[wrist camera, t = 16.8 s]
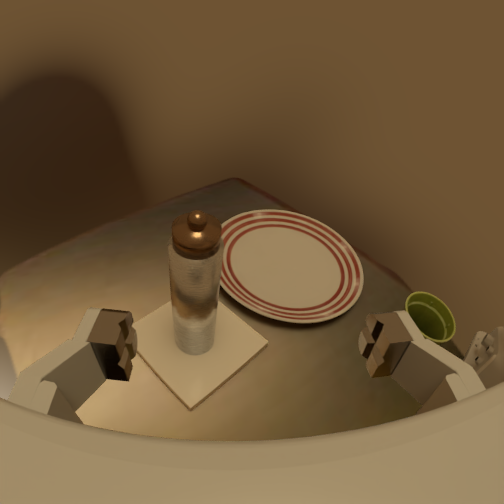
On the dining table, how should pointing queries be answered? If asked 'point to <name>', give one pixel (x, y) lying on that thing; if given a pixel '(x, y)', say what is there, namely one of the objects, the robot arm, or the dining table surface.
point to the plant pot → (431, 317)
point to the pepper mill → (195, 279)
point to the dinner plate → (289, 266)
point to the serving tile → (200, 366)
